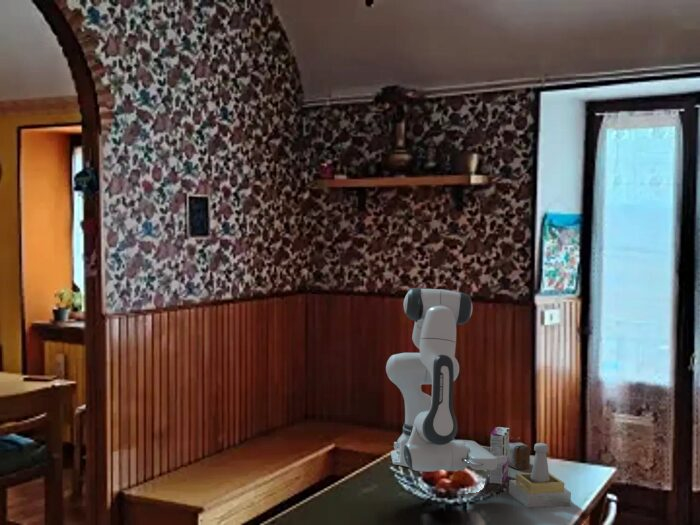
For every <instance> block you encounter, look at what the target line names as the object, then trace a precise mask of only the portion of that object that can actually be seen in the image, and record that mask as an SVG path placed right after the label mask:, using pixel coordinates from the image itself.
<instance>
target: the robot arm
mask: <svg viewBox="0 0 700 525" xmlns="http://www.w3.org/2000/svg"><path fill="white" fill-rule="evenodd" d="M403 311H404V314H405V316H406V318H408V319H410V320H412V321H414V325H413V329H412V335H411V336H412V337H411V338H412V342H413V344H414V346H415V347H416V348H417V349H419V352H401V353H396V354H391V355H390V357H389V358H388V360H387V361H386V365H385V372H386V374H387V378H388V379H389V380H390V382H392V383H393V384H394V385H395V386H396V387H397V388H398V389H399V391H400V392H401V394H402V397H403V400H404V423H403V426H402V434H401V435H400V436H399V437H398V439H397V441H394V442H393V448H394V449H395V450H391V451H390V456H391V460H392V464H393V465H394V466H395V465H396V466H403V467H405V468H410V470H413V471H416V472H437V471H447V472H456V471H458V472H460V471H459V470H463V471H465V470H466V468H467V467H470V468H471V469H473V470H477V471H489V470H496V469H497V464H500V463H506V462H507V457H506V456H504V455H503V456H499V457H496V456H494V455H492V454H495V448H494V447H490V446H485V445H481V444H479V443H477V442H476V441H475V440H468V439H457V438H456V439H455V437H456V435H457V433H458V427H459V426H458V421H457V417H456V415H455V410H454V382H455V381H456V380H457V378H458V376H459V373H460V363H459V362H458V360H457V358H456V357H455V356H456V347H457V345H456V344H457V325H466V323H468V322H469V320H470V318H471V316H472V314H473V302H472V298H471V297H470V295H469V294H467V293H465V292H461V291H459V292H457V291H453V290H449V289H443V288H442V289H441V288H440V289H438V288H437V289H436V288H420V287H413V288H410V289H409V290H408V291H407V293H406V295H405V297H404V299H403ZM422 385H431V395H430V394H428V393H425V392H424V391H422Z"/></svg>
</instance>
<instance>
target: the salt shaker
mask: <svg viewBox="0 0 700 525" xmlns="http://www.w3.org/2000/svg"><path fill="white" fill-rule="evenodd" d="M533 450H534V452H535V455H534V460H533V464H532V469H531V472H530V473H531V477H530V478H531V482H532V483H547V482H549V480H550V478H549V473H550V472H549V466H548V465H549V463H548V458H547V453H548V452H549V445H548V444H546V443H544V442H538V443H537V442H536V443H535V444H534V447H533Z"/></svg>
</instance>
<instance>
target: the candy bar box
mask: <svg viewBox="0 0 700 525" xmlns="http://www.w3.org/2000/svg"><path fill="white" fill-rule="evenodd" d="M491 431H492V432H490V436H489V447H494V448H495V454H492V455H494V456H496V457H499V456H503V455H504V456H506V457H507V462H506V463H500V464H497V469H496V470H488V472H489V473H488V474H489V475H488V483H489V484H492V483H497V484H496V485H502V484H503V485H504V484H505V482H506V480H507V478H508V476H509V465H508V458H509V437H510V427H501V426H495V428H494V429H493V430H491Z"/></svg>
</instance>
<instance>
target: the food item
mask: <svg viewBox="0 0 700 525" xmlns="http://www.w3.org/2000/svg"><path fill="white" fill-rule="evenodd" d="M520 438H521V437H520V436H519V437H516V436H512V437H510V436H509V458H508V467H511V468H512V469H515V470H527V469H529V468H530V465H531V464H530V460H531V447H530V446H529V445H528V444H525V443H523V442H521V441H520Z"/></svg>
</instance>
